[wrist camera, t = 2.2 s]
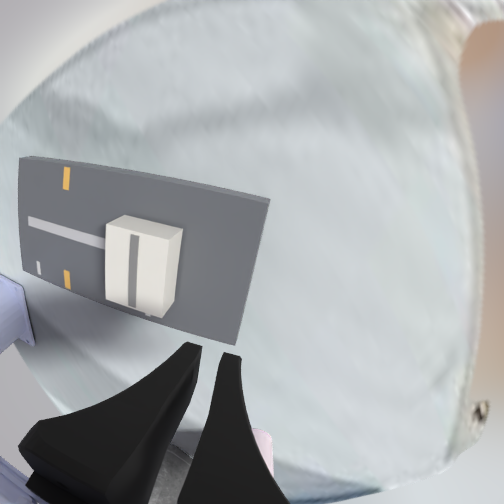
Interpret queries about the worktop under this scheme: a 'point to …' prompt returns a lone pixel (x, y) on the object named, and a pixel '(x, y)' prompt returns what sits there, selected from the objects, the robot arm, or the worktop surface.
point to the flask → (170, 476)
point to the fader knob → (141, 264)
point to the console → (148, 208)
